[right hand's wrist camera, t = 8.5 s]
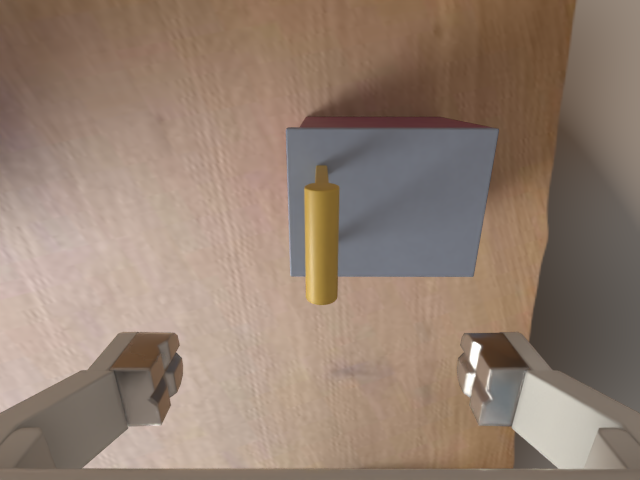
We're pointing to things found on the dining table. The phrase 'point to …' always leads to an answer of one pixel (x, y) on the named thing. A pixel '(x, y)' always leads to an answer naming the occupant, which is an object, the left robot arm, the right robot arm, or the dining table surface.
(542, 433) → the right robot arm
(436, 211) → the lid
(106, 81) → the dining table surface
